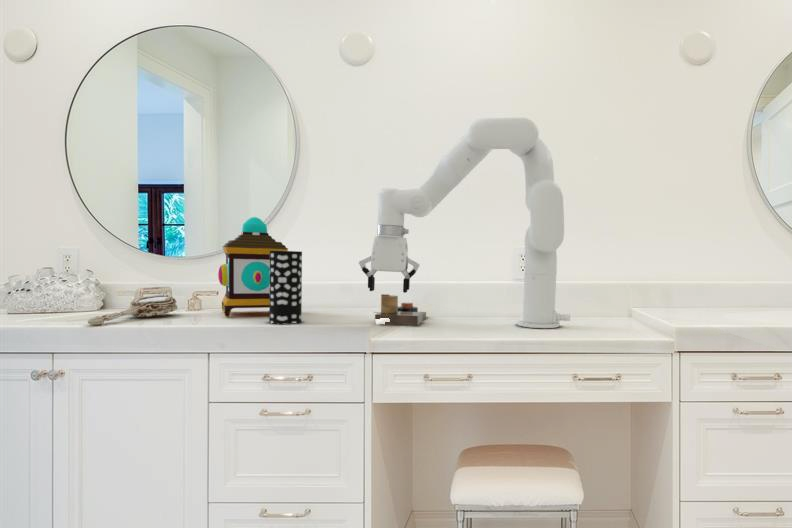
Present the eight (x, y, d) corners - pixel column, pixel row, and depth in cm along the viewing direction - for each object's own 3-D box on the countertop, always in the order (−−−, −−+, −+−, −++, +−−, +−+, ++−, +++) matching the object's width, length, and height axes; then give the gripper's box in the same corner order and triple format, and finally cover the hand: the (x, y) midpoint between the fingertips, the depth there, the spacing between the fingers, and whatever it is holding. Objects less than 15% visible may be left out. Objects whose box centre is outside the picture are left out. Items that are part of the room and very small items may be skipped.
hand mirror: (65, 315, 135) (150, 294, 165) (72, 337, 136) (155, 313, 166) (105, 307, 134) (183, 288, 164) (112, 330, 135) (188, 307, 165)
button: (413, 308, 175) (413, 302, 175) (411, 309, 171) (411, 303, 171) (402, 307, 175) (402, 302, 175) (400, 308, 171) (400, 303, 171)
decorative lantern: (219, 318, 157) (219, 213, 155) (216, 311, 174) (216, 216, 172) (294, 316, 167) (294, 217, 165) (284, 309, 184) (284, 220, 182)
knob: (399, 312, 162) (399, 294, 162) (396, 313, 158) (396, 295, 157) (382, 311, 162) (383, 293, 162) (379, 313, 157) (379, 295, 157)
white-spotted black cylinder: (290, 319, 160) (290, 251, 159) (307, 322, 155) (308, 251, 154) (263, 322, 153) (263, 250, 152) (280, 325, 149) (280, 251, 147)
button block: (426, 317, 178) (426, 306, 178) (422, 320, 169) (422, 309, 169) (392, 316, 178) (392, 305, 177) (386, 319, 169) (386, 308, 168)
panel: (422, 322, 165) (422, 311, 165) (417, 326, 155) (417, 315, 155) (377, 320, 165) (377, 310, 165) (369, 324, 155) (369, 313, 155)
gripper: (422, 234, 162) (420, 292, 163) (363, 231, 162) (361, 289, 163) (418, 233, 155) (416, 293, 156) (356, 230, 154) (355, 291, 155)
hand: (388, 291), depth 159 cm, fingers open, 9 cm apart
